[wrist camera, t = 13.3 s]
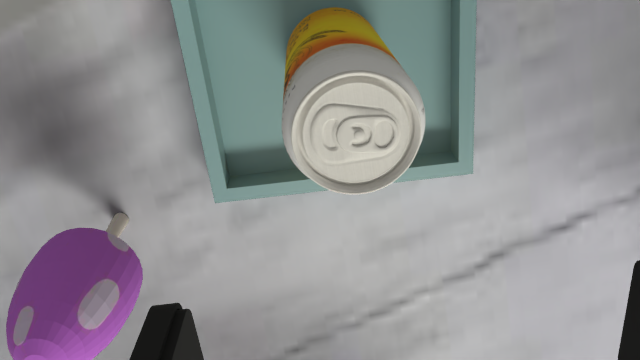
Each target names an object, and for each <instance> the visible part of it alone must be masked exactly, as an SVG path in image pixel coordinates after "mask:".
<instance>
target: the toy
mask: <svg viewBox="0 0 640 360" xmlns="http://www.w3.org/2000/svg"><path fill="white" fill-rule="evenodd" d="M128 221H129V219H128V217H127V215H125V214H124V213H117V214H115V216H114V217H113V219H112V221H111V223H110V224H109V226H108V228H107V230H106V231H102V230H98V229H93V228H75V229H70V230H66V231H64V232H61V233H59V234H57V235H55V236H54V237H53V238H51V239H50V240H49V241H48V242H47V243H46V244H45V245H44V246H42V247H41V249H40V250H39V251H38V253H37V254H36V255H35V257H34V258H33V259H32V261H31V262H30V263H29V265H28V266H27V268H26V269H25V271H24V273H23V275H22V277H21V278H20V280H19V282H18V284H17V287H16V290H15V292H14V295H13V298H12V301H11V304H10V307H9V311H8V318H7V324H6V334H7V343H8V349H9V352H10V354H11V356H12V358H13V360H92V359H93V358H94V357H95V356H96V355H98V354H99V353H100V352H101V351H102V350H103V349H104V348H105V347H107V346H108V345H109V343H110V342H111V341H112V340H113V338H114V337H115V336H116V335H117V334H118V332H119V331H120V329H121V328H122V326H123V325H124V323H125V321H126V320H127V318H128V316H129V315H130V313H131V311H132V310H133V307H134V305H135V303H136V300H137V298H138V295H139V292H140V288H141V284H142V280H143V275H142V267H141V264H140V261H139V259H138V257H137V256H136V254H135V252H134V251H133V250H132V249H131V248H130V247H129V246H128V245H127V244H126V243H125V242H124V241H123V240H121V239H120V238H119V236H120V235H121V233H122V232H123V230H124V228H125V227H126V225H127V223H128Z"/></svg>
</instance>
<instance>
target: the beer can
mask: <svg viewBox="0 0 640 360" xmlns="http://www.w3.org/2000/svg"><path fill="white" fill-rule="evenodd" d="M424 131H425V109H424V104H423V101H422V98H421V95H420V93H419V91H418V89H417V87H416V86H415V84H414V83H413V81H412V80H411V79H410V77H409V76H408V75H407V73H406V72H405V70H404V69H403V68H402V66H401V65H400V64H399V62H398V61H397V60H396V58H395V57H394V56H393V54H392V53H391V51H390V50H389V49H388V47H387V46H386V45H385V43H384V42H383V41H382V39H381V38H380V36H379V35H378V34H377V32H376V31H375V30H374V28H373V27H372V26H371V24H370V23H369V22H368V21H367V20H366V19H365V18H364V17H362V16H361V15H359V14H358V13H356V12H354V11H351V10H349V9H345V8H338V7H330V8H324V9H320V10H317V11H315V12H313V13H311V14H309V15H308V16H306V17H305V18H304V19H303V20H302V21H300V23H299V24H298V25H297V26H296V27H295V29H294V30H293V32H292V34H291V36H290V38H289V41H288V45H287V50H286V64H285V79H284V94H283V109H282V137H283V141H284V145H285V147H286V150H287V152H288V154H289V156H290V158H291V160H292V161H293V163H294V164H295V165H296V167H297V168H298V169H299V170H300V171H301V172H302V173H303V174H304V175H305V176H307V177H308V178H310V179H311V180H313V181H314V182H315V183H317V184H318V185H320V186H322V187H324V188H326V189H328V190H330V191H334V192H337V193H342V194H365V193H370V192H374V191H376V190H379V189H382V188H384V187H386V186H388V185H389V184H391V183H393V182H394V181H395V180H397V179H398V178H399V177H400V176H401V175H402V174H403V173H404V172H405V171H406V170H407V169H408V168H409V166H410V165H411V163H412V162H413V160H414V158H415V156H416V154H417V152H418V149H419V147H420V145H421V142H422V139H423V135H424Z"/></svg>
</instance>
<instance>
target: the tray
mask: <svg viewBox="0 0 640 360" xmlns="http://www.w3.org/2000/svg"><path fill="white" fill-rule="evenodd" d="M476 3H477V0H171V4H172V8H173V13H174V18H175V22H176V27H177V31H178V36H179V40H180V45H181V50H182V54H183V59H184V63H185V68H186V72H187V77H188V82H189V86H190V91H191V95H192V100H193V105H194V109H195V114H196V118H197V123H198V127H199V132H200V137H201V141H202V146H203V150H204V155H205V159H206V164H207V169H208V173H209V178H210V182H211V187H212V192H213V196H214V201H215V203H221V202H230V201H239V200H247V199H256V198H265V197H274V196H282V195H291V194H300V193H309V192H317V191H326V190H328V189H326V188H324V187H322V186H320V185H318V184H317V183H315V182H314V181H313V180H311V179H310V178H308V177H307V176H305V175H304V174H303V173H302V172H301V171H300V170H299V169H298V168H297V167H296V165H295V164H294V163H293V161H292V160H291V158H290V156H289V154H288V152H287V150H286V147H285V145H284V141H283V137H282V109H283V94H284V79H285V64H286V50H287V45H288V41H289V38H290V36H291V34H292V32H293V30H294V29H295V27H296V26H297V25H298V24H299V23H300V21H302V20H303V19H304V18H305V17H306V16H308V15H309V14H311V13H313V12H315V11H317V10H320V9H324V8H330V7H338V8H345V9H349V10H351V11H354V12H356V13H358V14H359V15H361V16H362V17H364V18H365V19H366V20H367V21H368V22H369V23H370V24H371V26H372V27H373V28H374V30H375V31H376V32H377V34H378V35H379V36H380V38H381V39H382V41H383V42H384V43H385V45H386V46H387V47H388V49H389V50H390V51H391V53H392V54H393V56H394V57H395V58H396V60H397V61H398V62H399V64H400V65H401V66H402V68H403V69H404V70H405V72H406V73H407V75H408V76H409V77H410V79H411V80H412V81H413V83H414V84H415V86H416V87H417V89H418V91H419V93H420V95H421V98H422V101H423V104H424V109H425V131H424V135H423V139H422V142H421V145H420V147H419V149H418V152H417V154H416V156H415V158H414V160H413V162H412V163H411V165H410V166H409V168H408V169H407V170H406V171H405V172H404V173H403V174H402V175H401V176H400V177H399V178H398V179H397V180H395V181H394V182H393V183H396V182H405V181H414V180H422V179H431V178H440V177H449V176H457V175H466V174H473V147H474V99H475V51H476Z"/></svg>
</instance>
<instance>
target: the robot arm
mask: <svg viewBox="0 0 640 360" xmlns="http://www.w3.org/2000/svg"><path fill="white" fill-rule="evenodd" d="M130 360H204V358H203V354H202V351H201V347H200V343H199V339H198V336H197V332H196V328H195V324H194V320H193V317H192V313H191V311H190V309H182V306H181V305H180V304H179V303H173V304H164V305H155V306H152V307H151V308H150V309H149V312H148V314H147V317H146V319H145V322H144V324H143V327H142V329H141V332H140V335H139V337H138V340H137V342H136V345H135V347H134V350H133V352H132V355H131V357H130ZM618 360H640V260H639V261H637V262H636V263H635V265H634V269H633V275H632V280H631V286H630V292H629V297H628V303H627V309H626V314H625V320H624V326H623V331H622V337H621V343H620V348H619V354H618Z"/></svg>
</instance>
